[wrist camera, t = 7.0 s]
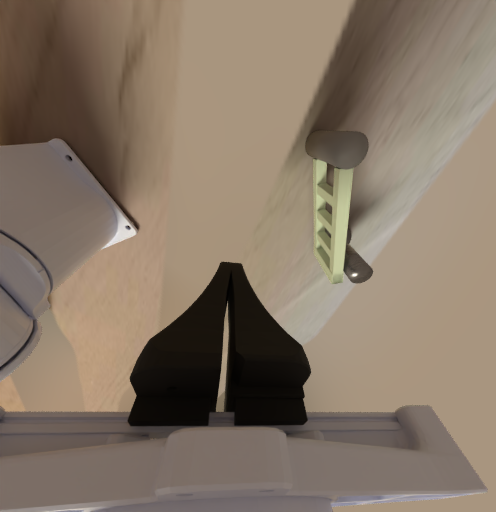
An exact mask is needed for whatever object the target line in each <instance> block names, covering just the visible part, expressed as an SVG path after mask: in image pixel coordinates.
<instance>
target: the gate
mask: <svg viewBox="0 0 496 512" xmlns="http://www.w3.org/2000/svg"><path fill="white" fill-rule="evenodd" d="M305 148H306V152H307V154H308V155H309V156H311V157H314V158H313V193H314V255H315V257H316V258H317V260H318V262H319V263H320V265H321V267H322V268H323V270H324V272H325V273H326V275H327V277H328V278H329V280H330V282H331V284H336V283H342V282H343V268H344V258H345V248H346V238H347V228H348V218H349V208H350V198H351V188H352V178H353V168H354V167H356V166H357V165H359V164H360V163H361V162H362V160H363V159H364V158H365V156H366V154H367V151H368V139H367V137H366V136H365V135H364V134H363V133H361V132H353V131H323V130H318V131H315V132H313V133H312V134H311V135H310V136H309V137H308V139H307V141H306V145H305ZM327 163H328V164H331V165H333V166H336V167H334V186H333V187H331V186H330V185H328V184H327V183H326V172H327ZM326 202H327V203H329V204H330V205H331V206H332V215H331V214H330V213H329V212H328V211H327V210H326ZM325 228H326V229H327V230H328V231H329V233H330V234H331V238H330V237H329V236H328V235H327V233H326V232H325Z"/></svg>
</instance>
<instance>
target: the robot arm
mask: <svg viewBox="0 0 496 512" xmlns="http://www.w3.org/2000/svg"><path fill="white" fill-rule="evenodd" d="M69 156H71V158H72V160H70V158H69ZM127 225H128V226H130V228H128V226H127ZM137 233H138V230H137V228H136V227H135V226H134V225H133V223H132V222H131V221H130V220H129V219H128V217H127V216H126V215H125V214H124V213H123V211H122V210H121V209H120V208H119V206H118V205H117V204H116V203H115V202H114V200H113V199H112V198H111V197H110V196H109V194H108V193H107V192H106V191H105V190H104V188H103V187H102V186H101V185H100V183H99V182H98V181H97V180H96V179H95V177H94V176H93V175H92V174H91V173H90V171H89V170H88V169H87V168H86V167H85V165H84V164H83V163H82V162H81V160H80V159H79V158H78V157H77V156H76V154H75V153H74V152H73V151H72V150H71V148H70V147H69V146H68V145H67V144H66V142H65V141H63V140H62V139H59V138H55V139H52V140H50V141H48V142H45V143H32V144H19V145H6V146H0V382H1V381H2V380H4V379H5V378H6V377H7V376H9V375H10V374H11V373H12V372H13V371H14V370H15V369H17V368H18V367H19V366H20V365H21V364H22V363H23V362H24V361H25V360H26V359H27V358H28V356H29V355H30V354H31V353H32V351H33V350H34V349H35V347H36V346H37V344H38V342H39V340H40V337H41V334H42V327H41V324H40V322H39V321H38V320H37V319H38V318H39V317H40V316H41V315H42V314H43V313H44V312H45V311H46V310H47V309H48V308H49V307H50V304H49V303H48V300H47V297H48V296H49V295H50V294H51V293H52V292H53V291H54V290H56V289H57V288H58V287H59V286H60V285H61V284H62V283H64V282H65V281H66V280H67V279H68V278H69V277H70V276H71V275H73V274H74V273H75V272H76V271H77V270H78V269H79V268H81V267H82V266H83V265H84V264H85V263H86V262H87V261H88V260H90V259H91V258H92V257H93V256H94V255H95V254H96V253H98V252H99V251H100V250H101V249H104V248H106V247H109V246H111V245H113V244H116V243H118V242H120V241H123V240H125V239H127V238H130V237H132V236H134V235H136V234H137ZM227 301H228V323H229V340H228V357H227V372H226V387H225V402H224V412H216V403H217V397H218V389H219V381H220V373H221V363H222V349H223V332H224V318H225V313H226V307H227ZM310 374H311V369H310V365H309V362H308V359H307V357H306V354H305V352H304V350H303V347H302V345H300V344H299V343H298V342H297V341H296V340H295V339H294V338H292V337H291V336H290V335H289V334H288V333H287V332H286V331H285V330H284V329H283V328H282V327H281V326H280V325H279V324H278V323H277V322H276V321H275V320H274V319H273V317H272V316H271V315H270V314H269V313H268V311H267V310H266V309H265V308H264V306H263V305H262V303H261V302H260V300H259V299H258V297H257V296H256V294H255V292H254V291H253V289H252V287H251V285H250V283H249V281H248V279H247V277H246V274H245V272H244V269H243V266H242V264H241V263H230V262H221V263H220V265H219V268H218V270H217V272H216V274H215V275H214V277H213V279H212V280H211V282H210V283H209V285H208V286H207V287H206V289H205V290H204V291H203V293H202V294H201V295H200V296H199V298H198V299H197V300H196V301H195V302H194V303H193V304H192V305H191V306H190V307H189V308H188V309H187V310H186V311H185V312H184V313H183V314H182V315H181V316H179V317H178V318H177V319H176V320H175V321H174V322H172V323H171V324H170V325H169V326H167V327H166V328H165V329H163V330H162V331H161V332H159V333H158V334H156V335H155V336H154V337H152V338H151V339H150V340H149V341H148V343H147V344H146V346H145V347H144V349H143V350H142V352H141V354H140V356H139V357H138V359H137V362H136V364H135V366H134V369H133V371H132V373H131V376H130V382H131V384H132V386H133V388H134V391H135V393H136V395H137V396H136V399H135V402H134V404H133V407H132V409H131V412H5V409H3V408H2V407H1V406H0V512H333V511H332V507H335V506H348V505H361V504H373V503H388V502H401V501H416V500H432V499H443V498H450V497H457V496H465V495H471V494H478V493H486V492H487V490H488V489H487V488H486V486H485V485H484V483H483V482H482V480H481V479H480V477H479V476H478V474H477V473H476V472H475V470H474V469H473V467H472V466H471V464H470V463H469V461H468V460H467V458H466V457H465V456H464V454H463V453H462V451H461V450H460V449H459V447H458V445H457V444H456V442H455V441H454V440H453V438H452V437H451V435H450V434H449V433H448V431H447V429H446V428H445V427H444V425H443V424H442V422H441V421H440V419H439V418H438V416H437V415H436V413H435V412H434V410H433V409H432V407H430V406H428V405H408V406H403V407H400V408H398V409H397V410H396V411H395V412H306V410H305V406H304V401H303V398H304V397H305V396H304V391H303V385H304V383H305V382H306V381H307V379H308V378H309V376H310Z"/></svg>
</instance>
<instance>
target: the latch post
mask: <svg viewBox="0 0 496 512" xmlns="http://www.w3.org/2000/svg"><path fill="white" fill-rule="evenodd" d="M325 232H326V233H327V235H328V236H329V237H330V238H331V234H330V233H329V231H328V230H327V229H326V228H325ZM350 240H351V233H350V231H349V229H348V228H347V238H346V248H345V258H344V268H343V271H344V272H345V274H346V275H347V276H348V278H349V279H350V281H351V282H353V283H362V282H365V281H366V280H368V279H369V278H370V277H371V276H372V274H373V270H372V268H371V267H370V266H369V265H368V264H367V263H366V262H365V261H364V260H363V259H362V258H361V257H360V255H359V254H358V253H357V252H356V251H355V250H354V249H353V248H352V247H351V246H350V245H349V243H350Z"/></svg>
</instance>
